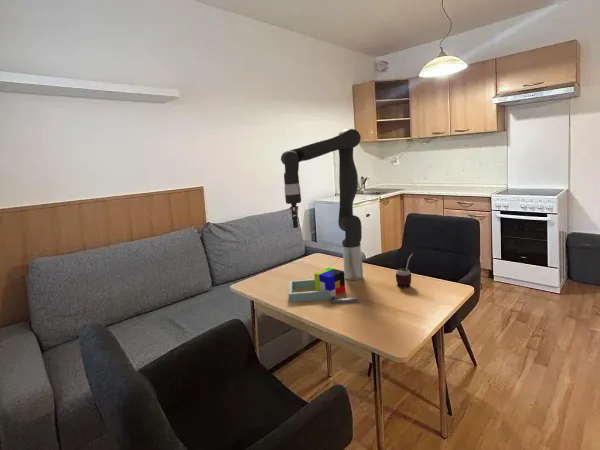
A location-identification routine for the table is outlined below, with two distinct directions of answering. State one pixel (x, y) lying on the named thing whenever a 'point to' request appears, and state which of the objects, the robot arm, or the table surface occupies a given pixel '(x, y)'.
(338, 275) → the puzzle toy
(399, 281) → the mate gourd
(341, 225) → the robot arm
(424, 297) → the table surface
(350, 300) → the crook tool
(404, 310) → the table surface
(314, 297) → the grey-blue flat square frame
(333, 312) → the table surface
